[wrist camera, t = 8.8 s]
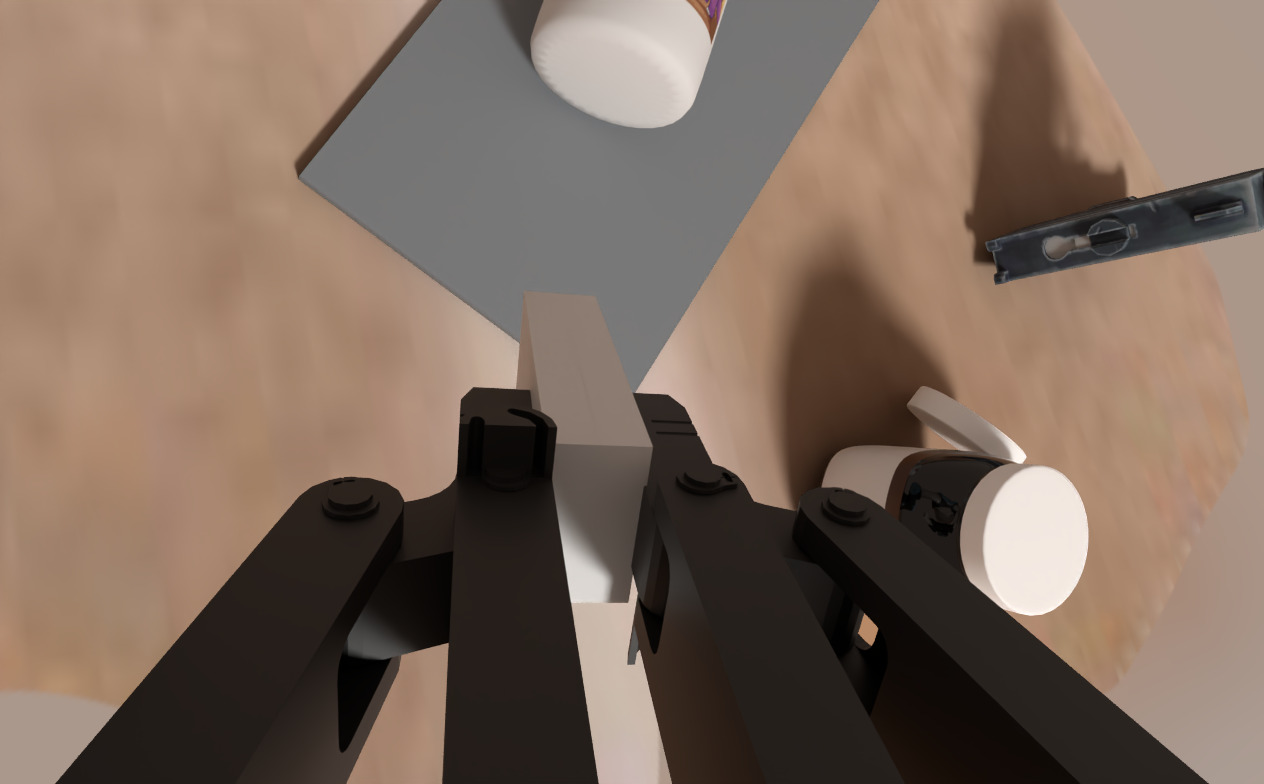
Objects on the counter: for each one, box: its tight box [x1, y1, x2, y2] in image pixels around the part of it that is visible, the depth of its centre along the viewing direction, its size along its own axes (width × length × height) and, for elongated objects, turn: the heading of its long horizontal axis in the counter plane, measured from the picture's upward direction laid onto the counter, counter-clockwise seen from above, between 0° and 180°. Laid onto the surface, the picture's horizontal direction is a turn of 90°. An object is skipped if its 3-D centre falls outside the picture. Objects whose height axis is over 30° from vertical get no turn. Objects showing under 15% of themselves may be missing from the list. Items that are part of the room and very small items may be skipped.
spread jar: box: [819, 386, 1088, 616], centre depth 43 cm, size 12×11×12 cm
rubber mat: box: [299, 0, 879, 393], centre depth 42 cm, size 34×18×1 cm, turn 144°
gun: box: [985, 168, 1264, 285], centre depth 48 cm, size 3×17×15 cm
